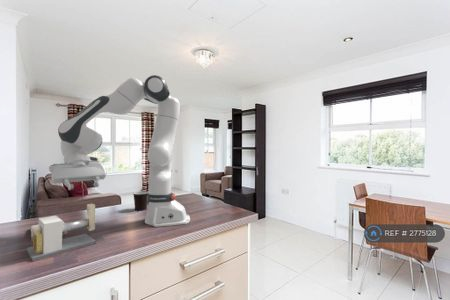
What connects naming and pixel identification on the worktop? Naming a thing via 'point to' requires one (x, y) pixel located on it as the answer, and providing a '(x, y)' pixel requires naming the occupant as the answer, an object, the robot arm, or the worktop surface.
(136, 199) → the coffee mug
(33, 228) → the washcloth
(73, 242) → the bearing housing
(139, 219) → the worktop surface
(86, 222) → the shaft
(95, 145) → the robot arm
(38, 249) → the brass collar
